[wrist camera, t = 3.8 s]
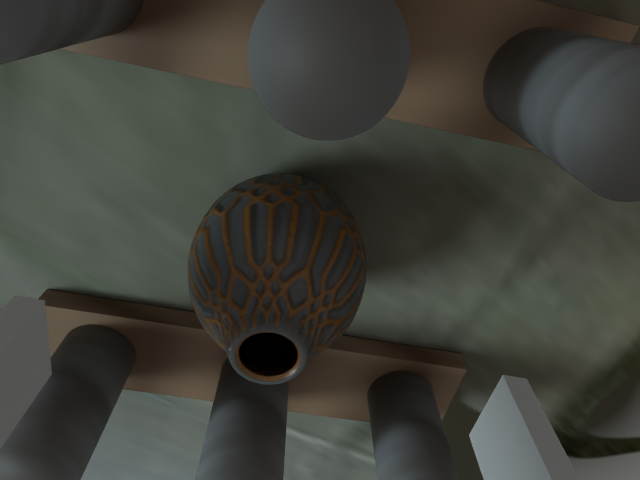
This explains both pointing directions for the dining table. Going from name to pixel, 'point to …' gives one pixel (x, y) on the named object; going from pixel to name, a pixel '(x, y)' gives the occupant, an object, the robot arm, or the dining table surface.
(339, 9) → the spacer rack
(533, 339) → the dining table surface
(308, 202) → the vase
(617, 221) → the dining table surface
